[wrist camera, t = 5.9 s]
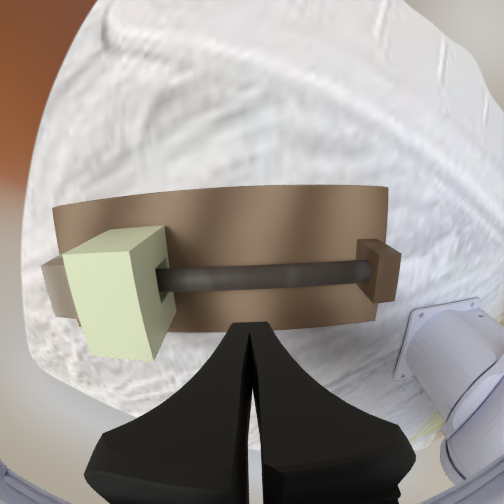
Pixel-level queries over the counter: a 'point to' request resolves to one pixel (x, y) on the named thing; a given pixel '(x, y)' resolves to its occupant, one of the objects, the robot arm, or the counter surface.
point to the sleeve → (121, 292)
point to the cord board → (250, 253)
